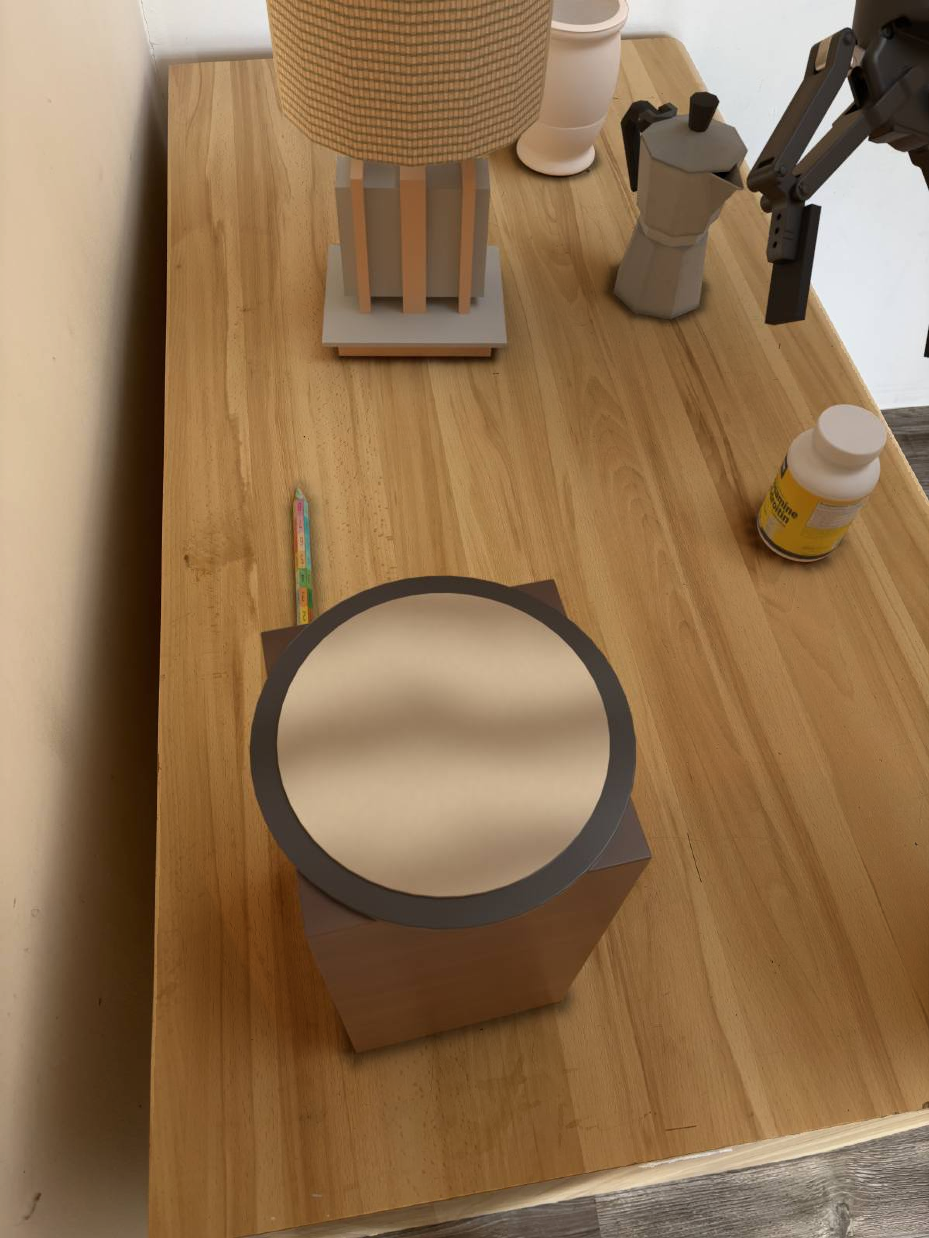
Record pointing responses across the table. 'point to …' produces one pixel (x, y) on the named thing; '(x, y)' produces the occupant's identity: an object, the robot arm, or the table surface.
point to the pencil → (302, 558)
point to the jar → (575, 85)
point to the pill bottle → (822, 483)
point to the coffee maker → (674, 200)
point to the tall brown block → (447, 799)
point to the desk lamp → (412, 157)
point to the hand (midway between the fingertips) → (867, 340)
